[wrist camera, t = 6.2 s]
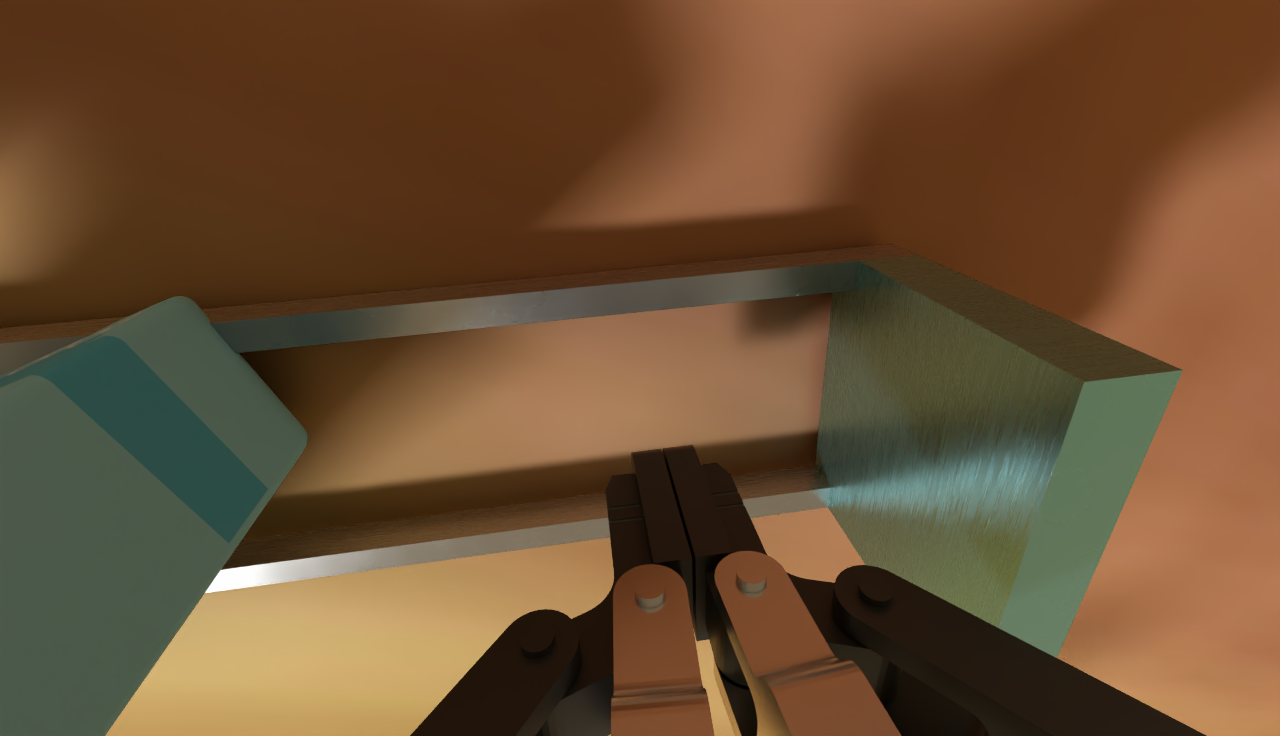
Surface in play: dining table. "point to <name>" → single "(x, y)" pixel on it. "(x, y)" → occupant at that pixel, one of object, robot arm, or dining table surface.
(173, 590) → the data package
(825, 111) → the dining table surface
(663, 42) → the dining table surface
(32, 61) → the dining table surface
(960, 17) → the dining table surface
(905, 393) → the frame
